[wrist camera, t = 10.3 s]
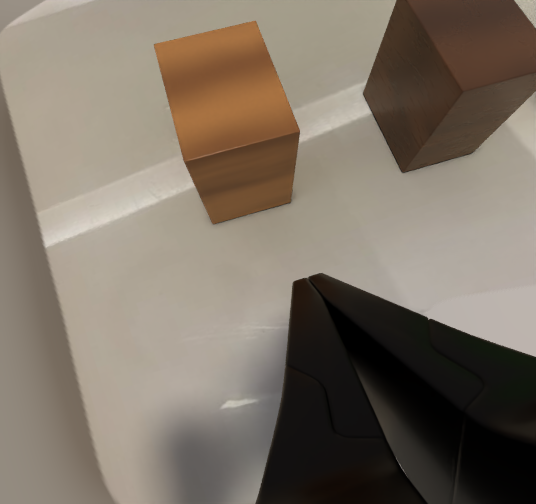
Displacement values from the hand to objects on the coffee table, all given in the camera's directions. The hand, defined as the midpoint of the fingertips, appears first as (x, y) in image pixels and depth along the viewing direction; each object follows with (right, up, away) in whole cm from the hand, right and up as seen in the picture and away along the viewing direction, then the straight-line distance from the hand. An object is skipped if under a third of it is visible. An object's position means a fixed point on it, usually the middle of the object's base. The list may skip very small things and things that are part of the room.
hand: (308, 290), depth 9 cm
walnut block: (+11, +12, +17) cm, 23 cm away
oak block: (-3, +8, +16) cm, 18 cm away
